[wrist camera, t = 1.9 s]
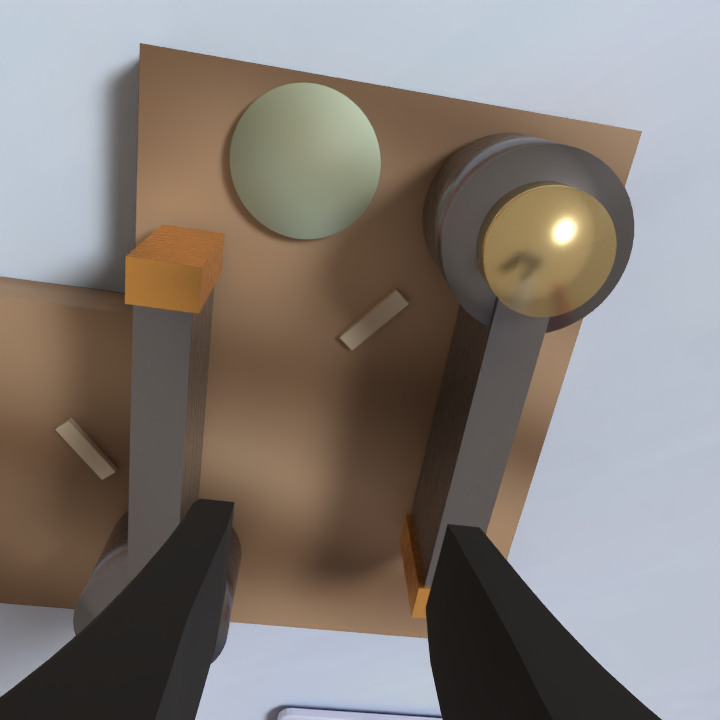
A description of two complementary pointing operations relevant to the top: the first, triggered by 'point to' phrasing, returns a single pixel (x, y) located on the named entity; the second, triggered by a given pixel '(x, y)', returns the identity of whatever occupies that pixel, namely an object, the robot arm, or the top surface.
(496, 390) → the dark grey lever
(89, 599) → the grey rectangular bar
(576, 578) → the top surface
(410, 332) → the walnut base
